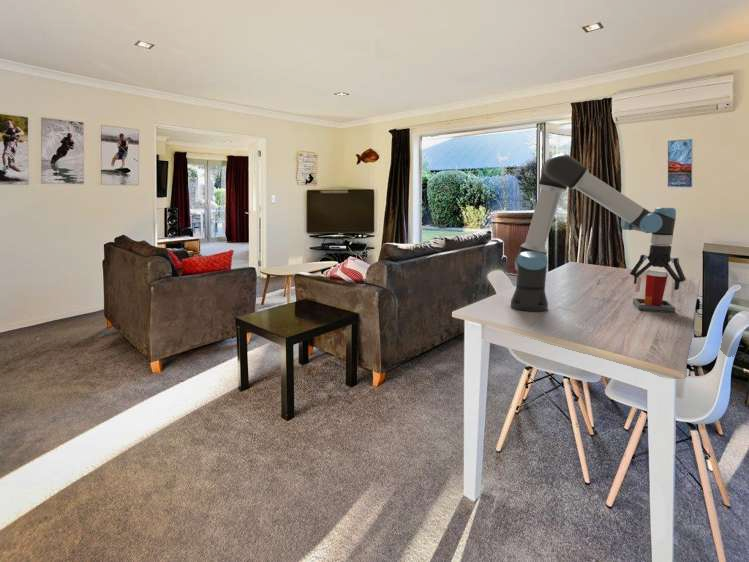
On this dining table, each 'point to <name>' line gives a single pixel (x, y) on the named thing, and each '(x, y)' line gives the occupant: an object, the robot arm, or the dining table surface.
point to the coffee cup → (655, 287)
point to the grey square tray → (663, 308)
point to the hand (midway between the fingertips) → (654, 294)
